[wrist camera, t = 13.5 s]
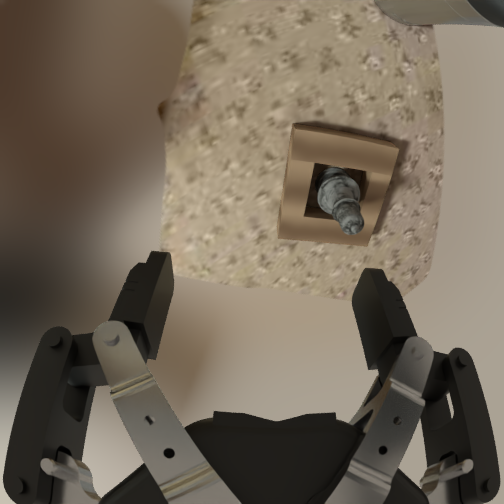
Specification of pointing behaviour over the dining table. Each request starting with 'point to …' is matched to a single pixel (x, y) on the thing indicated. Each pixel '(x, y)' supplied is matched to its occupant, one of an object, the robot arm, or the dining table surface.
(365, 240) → the tan picture frame
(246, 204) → the dining table surface
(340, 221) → the grey tall tiered piece
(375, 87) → the dining table surface
